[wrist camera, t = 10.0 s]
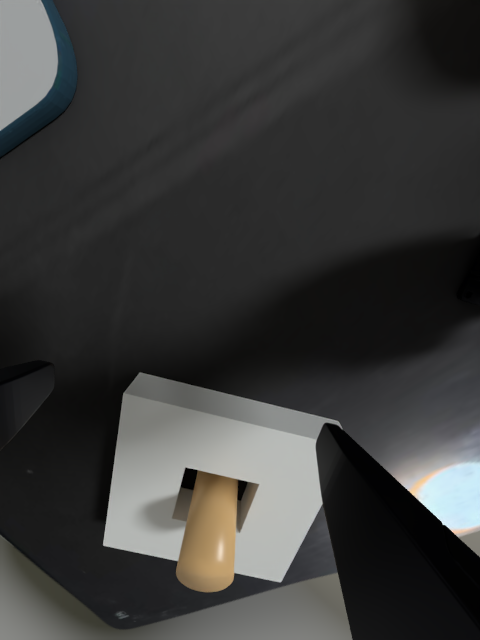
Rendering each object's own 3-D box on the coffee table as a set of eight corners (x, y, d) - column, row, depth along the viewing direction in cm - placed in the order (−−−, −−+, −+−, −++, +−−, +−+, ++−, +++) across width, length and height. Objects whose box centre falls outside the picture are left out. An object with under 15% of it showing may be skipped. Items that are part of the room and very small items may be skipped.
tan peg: (243, 461, 24) (240, 562, 17) (232, 489, 26) (226, 596, 18) (202, 451, 24) (181, 550, 17) (194, 481, 25) (171, 585, 18)
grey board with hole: (338, 421, 23) (351, 447, 20) (259, 584, 30) (260, 620, 28) (139, 372, 22) (123, 393, 19) (112, 553, 30) (97, 587, 27)
